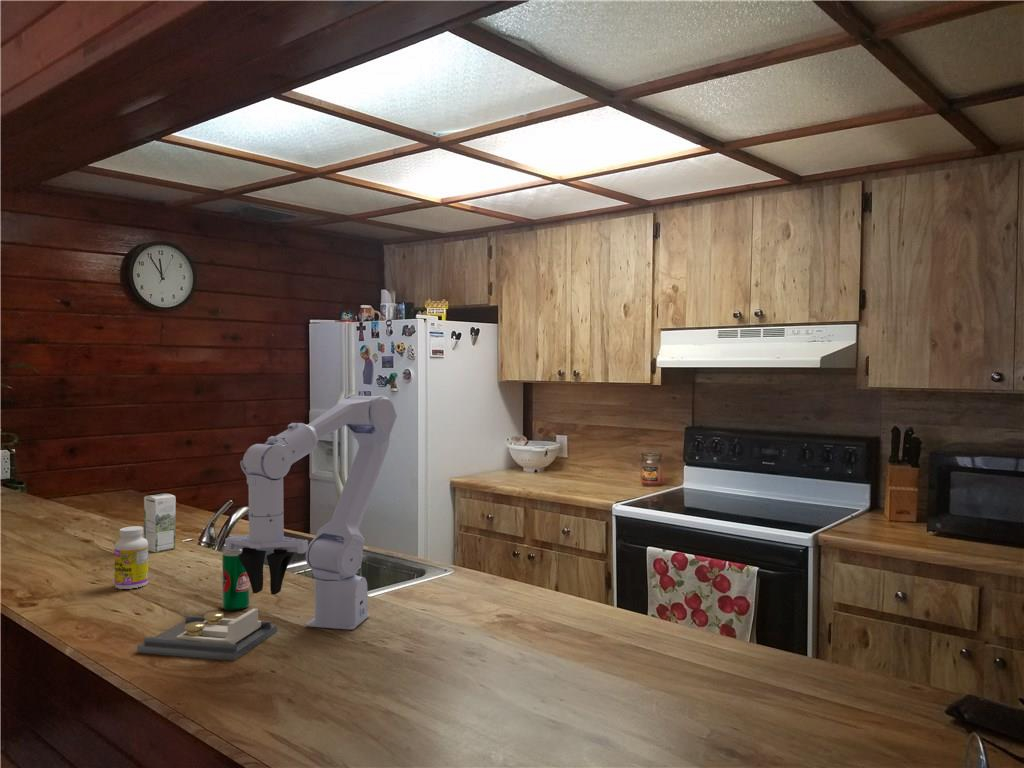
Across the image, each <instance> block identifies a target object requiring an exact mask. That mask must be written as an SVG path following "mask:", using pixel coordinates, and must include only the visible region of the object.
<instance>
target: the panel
mask: <svg viewBox="0 0 1024 768" xmlns="http://www.w3.org/2000/svg"><path fill="white" fill-rule="evenodd" d="M261 621H262V620H259V608H252V609H251V608H250V610H248V611H247V612H245V613H243V614H242V615H239V616H238V617H235V618H230V619H228V617H223V618H222V619H220V625H208V621H206V620H205V621H204V623H205V628H204V629H203V630H201V636H209V637H200V636H189V633H188V632H186V631H185V632H184V633H182V634H180V635H178V636H176V639H183V640H195V641H208V642H220V643H233V644H235V643H236V642H238V641H239V640H241V639H242V638H244V637H245V636H247V635H249V634H250V633H252V632H253V631H255V630H256V629H258V628H259V627H261ZM221 625H226V626H221ZM213 637H222V638H213Z"/></svg>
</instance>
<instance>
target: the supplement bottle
mask: <svg viewBox="0 0 1024 768" xmlns="http://www.w3.org/2000/svg"><path fill="white" fill-rule="evenodd" d="M143 535H144V527H143V526H140V525H138V526H137V525H136V526H127V527H122V528H120V529H119V537H120V539H119V540H117V541H116V542H115V544H114V587H115V589H117V588H118V589H117V590H122V589H130V590H132V589H131V588H137V589H139V588H138V587H141V588H142V586H143V587H145V586H147V585H148V583H149V551H148V541H147V540H146V539H145V538H144V537H143Z"/></svg>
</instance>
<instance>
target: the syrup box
mask: <svg viewBox="0 0 1024 768" xmlns="http://www.w3.org/2000/svg"><path fill="white" fill-rule="evenodd" d="M176 498H177V497H176V495H174V494H171V493H160V494H154V495H153V494H152V495H145V496H143V504H144V505H143V511H144V512H143V520H144V521H143V522H144V523H143V524H144V525H143V526H144V527H143V538H145V539H146V540H147V541H148V552H151V553H152V552H153V553H159V552H165V551H170V550H175V549H176V504H177V501H176Z"/></svg>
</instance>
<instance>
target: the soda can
mask: <svg viewBox="0 0 1024 768" xmlns="http://www.w3.org/2000/svg"><path fill="white" fill-rule="evenodd" d="M241 553H242V549H232V550H226V549H225V548H224V551H223V553H222V555H221V558H222V561H221V562H222V567H221V568H222V570H221V571H222V572H221V573H222V608H224V610H226V609H227V610H226V611H228V610H238V609H242V610H244V608H245V609H246V607H248V606H250V580H249V577H248V575H247V572H246V570H245V568H244V566H243V565H242V563H241V561H240V560H239V557H238V555H239V554H241ZM238 611H239V610H238Z"/></svg>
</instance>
